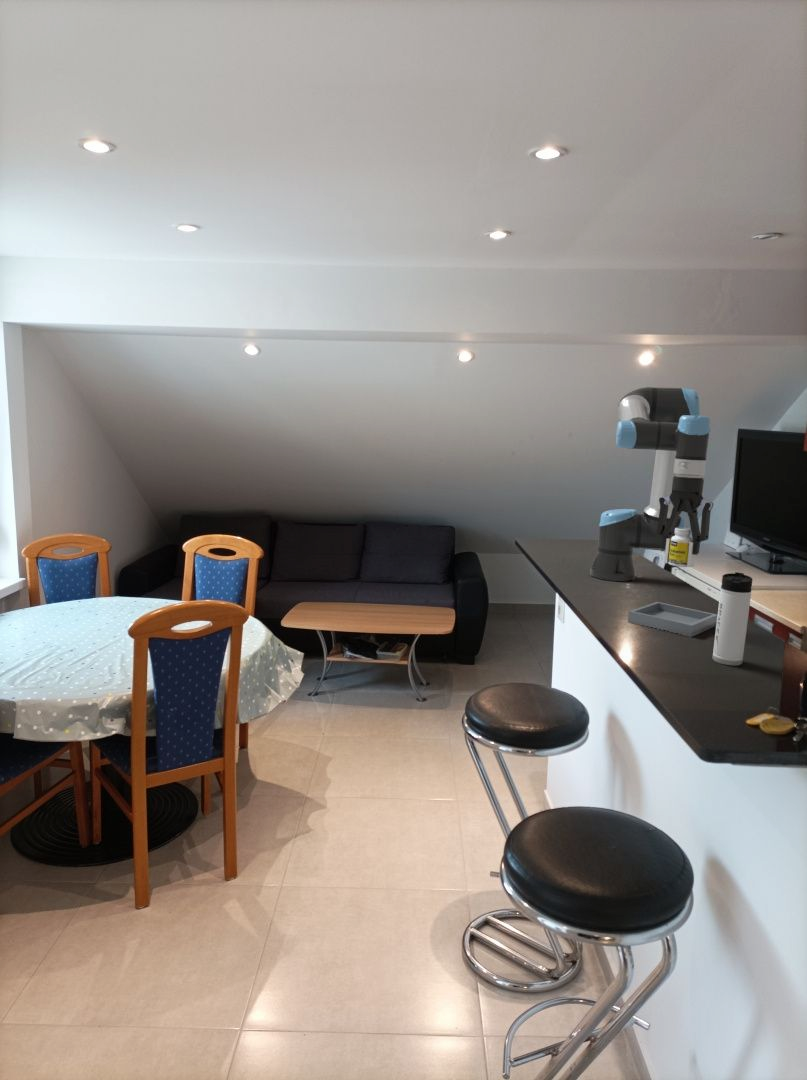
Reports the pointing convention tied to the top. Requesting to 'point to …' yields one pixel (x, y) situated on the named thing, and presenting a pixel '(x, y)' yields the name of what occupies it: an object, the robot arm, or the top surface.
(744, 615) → the travel mug
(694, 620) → the tray
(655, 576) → the top surface
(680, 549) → the supplement bottle
